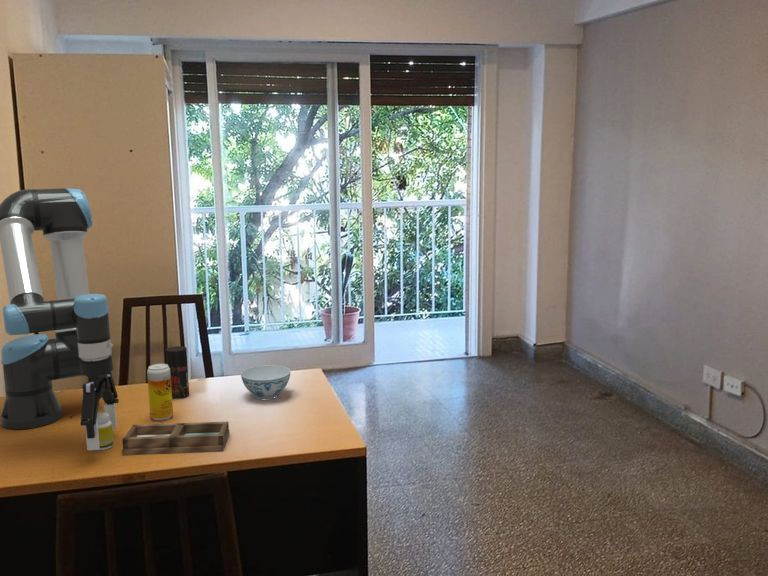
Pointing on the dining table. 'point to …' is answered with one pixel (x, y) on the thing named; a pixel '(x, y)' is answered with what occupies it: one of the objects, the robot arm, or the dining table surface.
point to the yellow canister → (160, 392)
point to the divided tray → (176, 438)
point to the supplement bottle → (104, 431)
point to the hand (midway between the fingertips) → (102, 438)
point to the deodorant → (178, 371)
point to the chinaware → (266, 380)
